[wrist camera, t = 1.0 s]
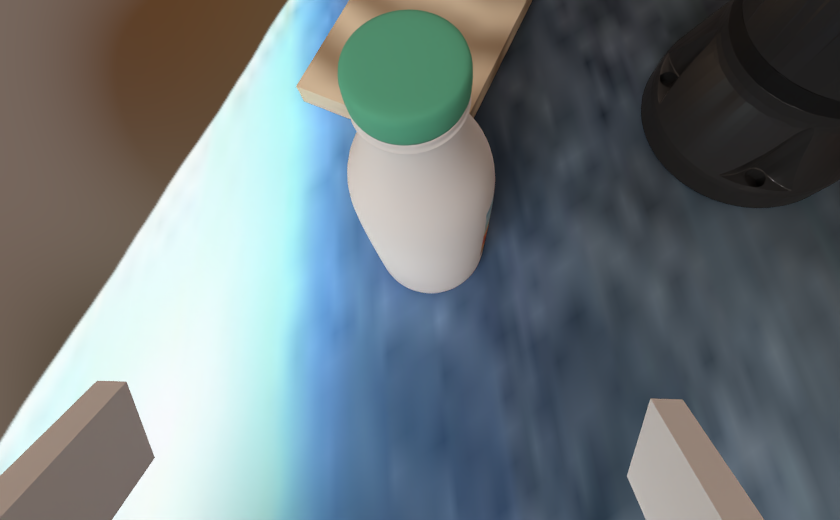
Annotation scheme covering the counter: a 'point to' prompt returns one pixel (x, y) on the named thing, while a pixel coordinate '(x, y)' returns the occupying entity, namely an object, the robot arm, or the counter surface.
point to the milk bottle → (417, 148)
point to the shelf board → (458, 3)
